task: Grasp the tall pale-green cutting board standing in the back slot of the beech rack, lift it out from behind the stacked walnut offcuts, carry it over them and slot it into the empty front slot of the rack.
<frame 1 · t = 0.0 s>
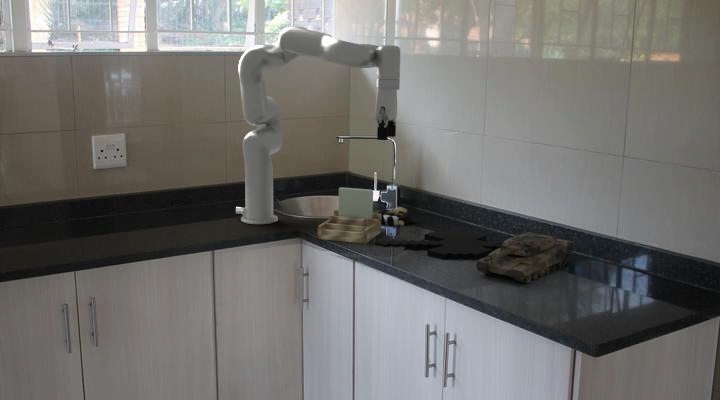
hand: (386, 138, 263), 31 cm above the worktop, fingers open, 9 cm apart
toy 2: (519, 274, 225), on the worktop
board: (355, 231, 265), point 1 cm above the worktop, touching rack
toy: (394, 225, 280), on the worktop
decorative axe: (445, 249, 251), on the worktop
rack: (349, 238, 260), on the worktop
offcut top: (351, 226, 259), point 4 cm above the worktop, touching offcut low
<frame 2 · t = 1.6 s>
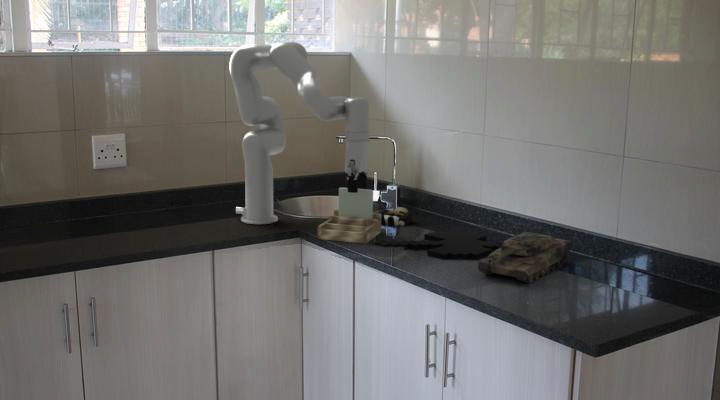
hand: (357, 189, 262), 15 cm above the worktop, fingers open, 9 cm apart
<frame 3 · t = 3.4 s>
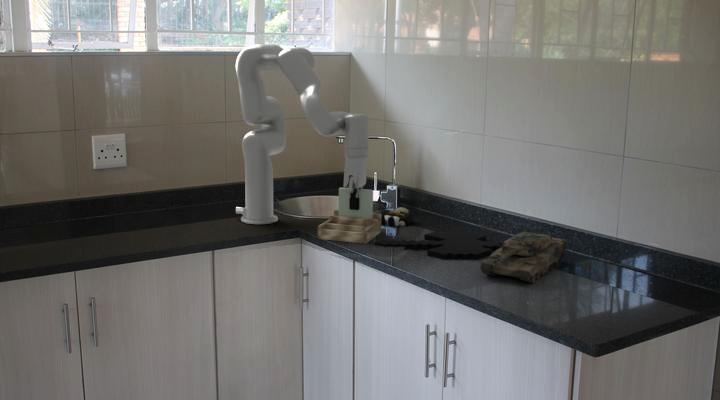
hand: (355, 208, 263), 9 cm above the worktop, fingers closed on board, 2 cm apart
board: (355, 231, 265), point 1 cm above the worktop, touching gripper
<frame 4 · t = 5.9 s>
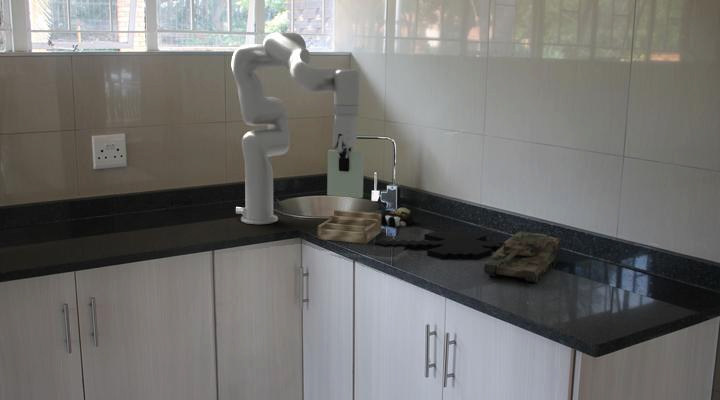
hand: (345, 170, 251), 23 cm above the worktop, fingers closed on board
board: (345, 196, 252), point 15 cm above the worktop, touching gripper
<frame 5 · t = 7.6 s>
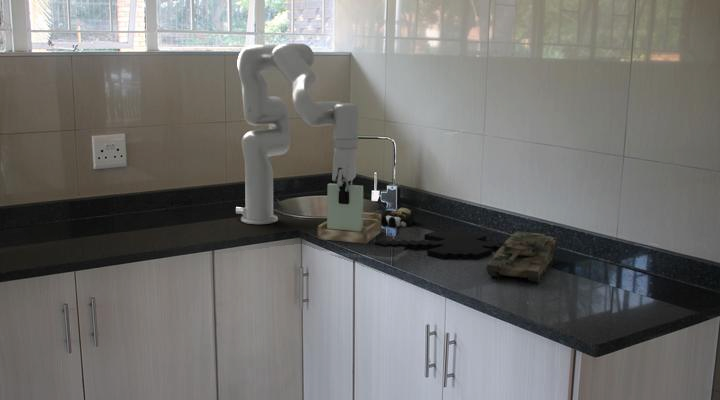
hand: (345, 202, 252), 13 cm above the worktop, fingers closed on board
board: (344, 229, 254), point 4 cm above the worktop, touching gripper
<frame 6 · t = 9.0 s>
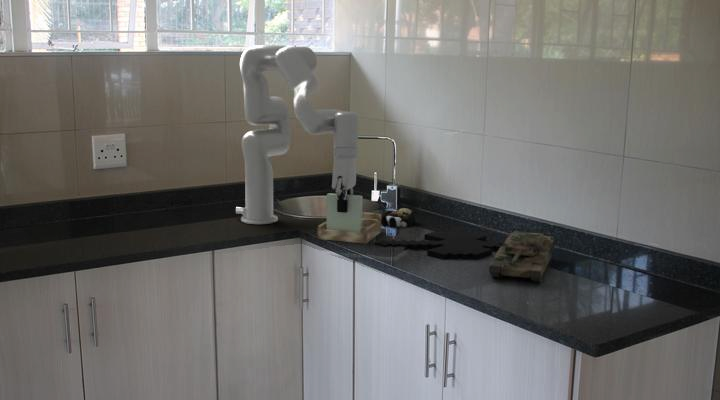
hand: (344, 210, 253), 10 cm above the worktop, fingers open, 4 cm apart
board: (344, 238, 255), point 1 cm above the worktop, touching rack
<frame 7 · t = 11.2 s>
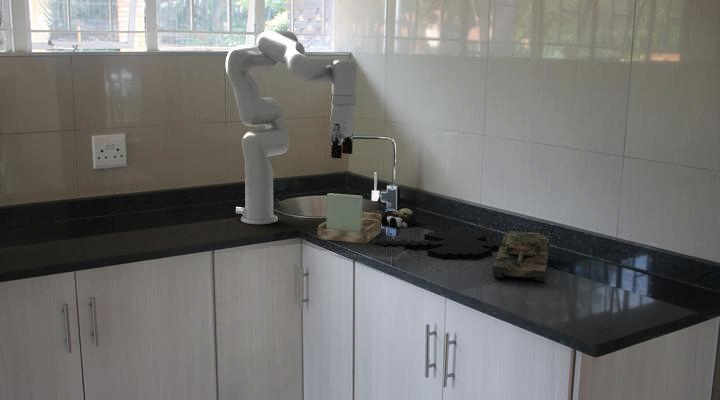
hand: (341, 155, 253), 27 cm above the worktop, fingers open, 9 cm apart
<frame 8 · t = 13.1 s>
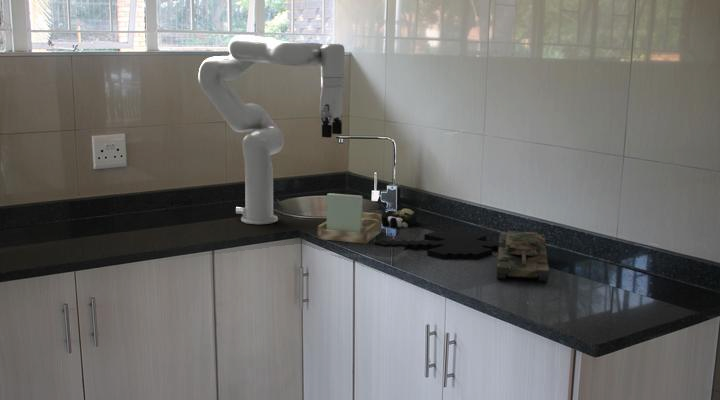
hand: (331, 135, 266), 31 cm above the worktop, fingers open, 9 cm apart
at the end: board 0.2 cm from the target spot on the rack, point 1.0 cm above the rack's base; board tilted 0°; the gripper is holding nothing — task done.
